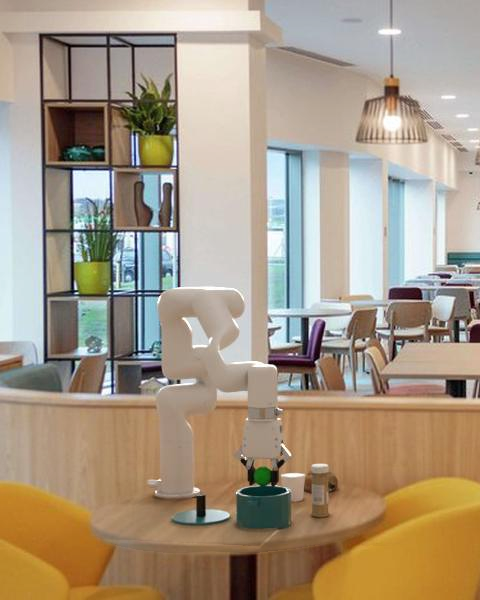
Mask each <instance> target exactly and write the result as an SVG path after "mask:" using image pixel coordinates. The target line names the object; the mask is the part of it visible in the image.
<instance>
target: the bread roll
mask: <svg viewBox="0 0 480 600" xmlns="http://www.w3.org/2000/svg"><path fill="white" fill-rule="evenodd" d="M338 486H339V481H338V478H337V476H336V474H335V473H334V472H332V471H331V470H330V469H329V472H328V493H330V492H332V491H335V490H336V489H338ZM304 490H305V491H306V492H309V493H312V472H311V470H310V471H308V472H307V473H305V481H304Z"/></svg>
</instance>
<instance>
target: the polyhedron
mask: <svg viewBox="0 0 480 600" xmlns="http://www.w3.org/2000/svg"><path fill="white" fill-rule="evenodd" d="M255 469H256V470H255V471H254V474H253V478H254V481H255V484H257V486H266V485H270V484H271V471H272V470H271V468H269V467H267V466H265V465H261V466H259V467H258V468H255Z"/></svg>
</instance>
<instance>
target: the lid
mask: <svg viewBox="0 0 480 600" xmlns="http://www.w3.org/2000/svg"><path fill="white" fill-rule="evenodd" d="M195 498H196V499H195V507H196V508H195V509H191V510H184V511H181V512H177V513H175V514H174V515H172V517H171V520H172V522H173V523H175V524H178V525H183V526H184V525H185V526H209V525H216V524H221V523H223V522H226V521H228V520H229V519H230V518H231V514H230V512H228V511H225V510H221V509H210V508H207V494H206V493H200V494H197V495H196V496H195Z"/></svg>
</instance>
